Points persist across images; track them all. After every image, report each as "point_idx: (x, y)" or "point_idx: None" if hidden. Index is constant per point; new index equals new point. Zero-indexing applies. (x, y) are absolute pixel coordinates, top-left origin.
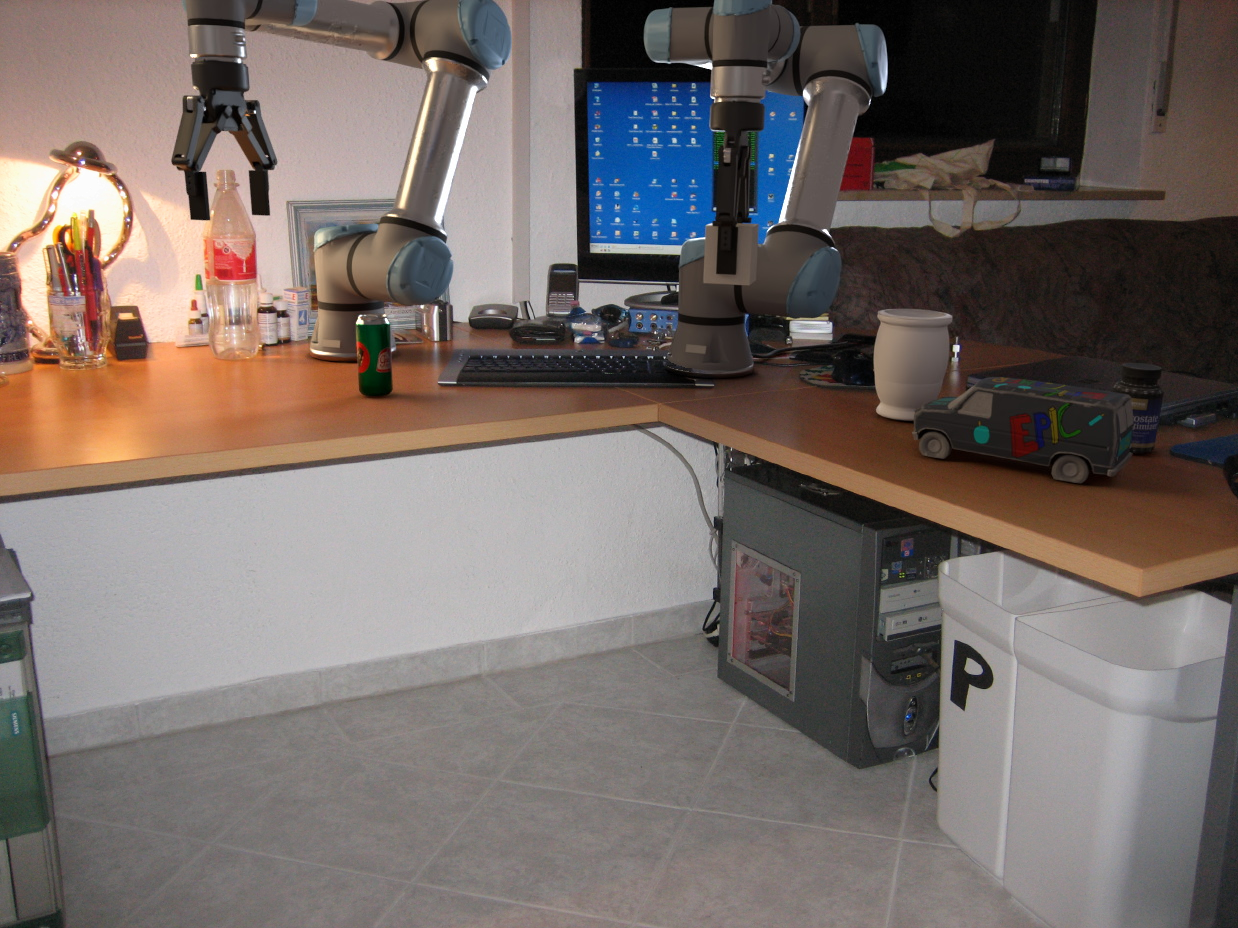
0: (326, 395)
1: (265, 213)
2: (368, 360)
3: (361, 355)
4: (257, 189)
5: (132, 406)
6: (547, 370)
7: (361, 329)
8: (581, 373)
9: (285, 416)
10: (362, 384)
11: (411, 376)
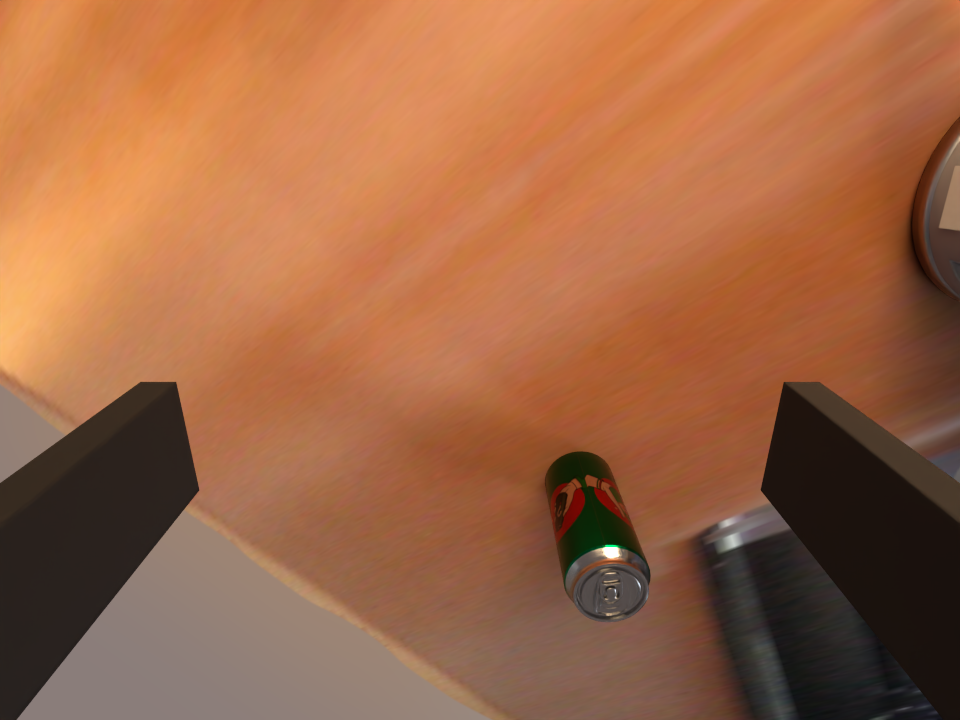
0: (542, 393)
1: (768, 489)
2: (553, 528)
3: (557, 519)
4: (888, 555)
5: (269, 64)
6: None
7: (563, 565)
8: (870, 689)
9: (356, 420)
10: (549, 480)
11: None
